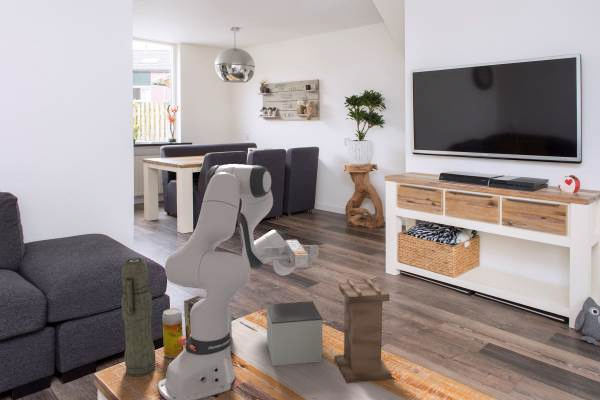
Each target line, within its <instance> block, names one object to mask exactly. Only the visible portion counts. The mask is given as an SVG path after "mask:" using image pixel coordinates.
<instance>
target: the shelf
mask: <svg viewBox="0 0 600 400" xmlns="http://www.w3.org/2000/svg"><path fill="white" fill-rule="evenodd" d="M266 341H267V342H266V345H267V349H268V353H269V357H270V361H271V365H272V367H276V366H277V367H278V366H287V365H297V364H307V363H318V362H319V363H320V362H323V317H322V315H321V313H320V311H319V310H318V308H317V307H316V305H315V303H314V302H313V301H311V300H310V301H299V302H286V303H285V302H283V303H272V304H268V303H267V304H266Z"/></svg>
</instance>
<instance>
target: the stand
mask: <svg viewBox="0 0 600 400" xmlns="http://www.w3.org/2000/svg"><path fill="white" fill-rule="evenodd" d="M338 291H339V292H340V294H341V295H342V296H343V297H344V314H343V315H344V318H343V319H344V322H343V324H344V327H343V330H344V331H343V339H344V340H343V354H339V355H334V359H333V361H334V362H335V364H336V367H337V368H338V370H339V372H340V373H341V376H342V377H343V380H344V382H345V384H352V383H362V382H371V381H379V380H390V379H392V378H393V377H392V376H393V375H392V374H393V373H392V372H391V371H390V370H389V368H388V366H387V365H386V364H385V362H384V361H383V359H382V341H383V340H382V339H383V338H382V334H383V302H389V301H390V293H389V292H388V291H386V290H385V289H384V287H383V286H382V285H380V284H379V283H378V282H377V281H376V280H375V281H374V280H372V281H371V279H369V277H364V281H355V282H353V280H351V278H347V279H346V282H342V283H338Z"/></svg>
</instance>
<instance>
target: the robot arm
mask: <svg viewBox="0 0 600 400" xmlns="http://www.w3.org/2000/svg"><path fill="white" fill-rule="evenodd" d="M205 187H206V189H205V191H204V196H203V199H202V203H201V208H200V213H199V216H198V219H197V222H196V223H197V224H196V226H195V228H194V231H193V232H192V233H191V235H190V237H189V239H188V240H187V241H185V243H184V244H183V245H182V246H180V248H178V249H176V250H175V251H173V252H172V253H170V254H169V256H168V257H167V258H166V261H165V265H164V272H165V276H166V279H167V281H168V282H170V283H171V284H174V285H177V286H180V287H182V288H183V287H184V288H190V289H200V290H201V289H203V290H205V292H206V297H203V298H204V299H202V300H200V301H198V302H196V303H195V304H194V305H193V307H192V308H191V311H190V327H191V333H190V335H189V338H188V340H187V339H186V336H182V337H180V339H179V343H181V344H182V345H183V346H185V348H183V351H182V352H181V353H180V354H179V355H178V356H177V357H176V358H173V360H172V361H171V362H170V363H169V364H168V366H167V368H166V373H165V378H162V379H161V380H159V381H158V383H157V384H158V386H157V389H158V392H159V393H160V395H161V396H162V397H163V398H164V399H165V400H201V399H204V398H207V397H211V396H214V395H218V394H221V393H225V392H228V391H230V390H231V387H232V383H233V382H234V381H235V379H236V372H235V368H234V366H233V362H232V354H231V348H230V347H231V344H232V342H231V337H230V331H229V307H230V305H231V303H232V301H233V299H234V297H235V296H236V295H237V294H238V293H239V292H240V291H242V290H243V289H245V287H246V286H247V285H248V283H249V281H250V279H251V275H252V269H253V270H259V269H260V268H262V267H263V266H264V265H265V264H266V263H269V262H273V264H272V266H273V270H274V272H275V273H276V274H278V275H279V276H288V275H290V274H292V273H293V271H294V270H295V269H296V268H295V266H294V265H293V263H292V261H291V259H290V258H289V256H288V254H287V253H286V251H287V250H288V248H287V245H286V240H290V239H289V238H288V237H287V235H286V234H285V233H284V232H283V231H280V230H278V229H272V230H270V231H268V232H266V233H265V234H263V235H262V236H261V237H258V238H257V239H255V238H254V230H255V228H256V227H257V225H259V223H260V222H261V221H262V220H263V219H264V218H265V217H266V216H267V215H268V214H269V213H270V211H271V209H272V207H273V206H274V197H273V193H272V190H271V188H272V175H271V172H270V170H269V169H267V167H265V166H262V165H258V164H256V165H255V164H254V165H252V164H251V165H250V164H240V163H229V164H217V165H214V166H211V167H210V168H209V169H208V170H207V172H206V175H205ZM240 202H241V203H240ZM240 204H241V208H240ZM239 209H240V212H239ZM236 225H238V232H239V237H240V245H241V254H237V253H233V252H226V251H215V249H216V248H217V247H218V246H219V245H220V244H222V243H223V242H226V241H227V240H229V239H231V238H232V236H233V235H234V233H235V230H236ZM254 239H255V240H254ZM300 245H301V246H302V247H303V249H304V250H305V251H306V252H307V254H308V266H309V265H311V264H312V262H313V261H315V260H316V259H317V258H318V256H320V255H319V254H320V252H319V251H320V250H319V245H317V244H308V245H307V244H306V245H303V244H300Z"/></svg>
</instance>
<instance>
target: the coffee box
mask: <svg viewBox="0 0 600 400" xmlns="http://www.w3.org/2000/svg"><path fill="white" fill-rule="evenodd" d="M204 298H205V297H202V296H199V295H196V296H195V297H191V298H188V299H186V300H184V301H183V308H184V309H183V310H184V311H183V312H184V327H185V328H184V329H185V338H186V339H187V340H188V338H189V335H190V333H191V327H190V311H191V308H192V307H193V305H194V304H195V303H196V302H198V301H200V300H202V299H204Z"/></svg>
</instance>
